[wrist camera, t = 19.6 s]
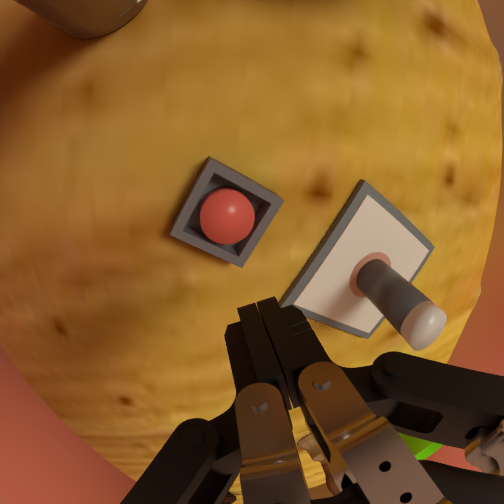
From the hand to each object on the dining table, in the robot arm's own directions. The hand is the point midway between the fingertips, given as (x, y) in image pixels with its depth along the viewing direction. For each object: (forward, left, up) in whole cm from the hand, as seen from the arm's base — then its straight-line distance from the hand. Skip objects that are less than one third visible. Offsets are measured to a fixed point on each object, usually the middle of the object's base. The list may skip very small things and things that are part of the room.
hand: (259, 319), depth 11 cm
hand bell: (+41, -35, -16) cm, 56 cm away
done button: (0, 0, -15) cm, 15 cm away
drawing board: (+19, +2, -16) cm, 25 cm away
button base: (0, 0, -16) cm, 16 cm away
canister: (+19, +2, -15) cm, 24 cm away
